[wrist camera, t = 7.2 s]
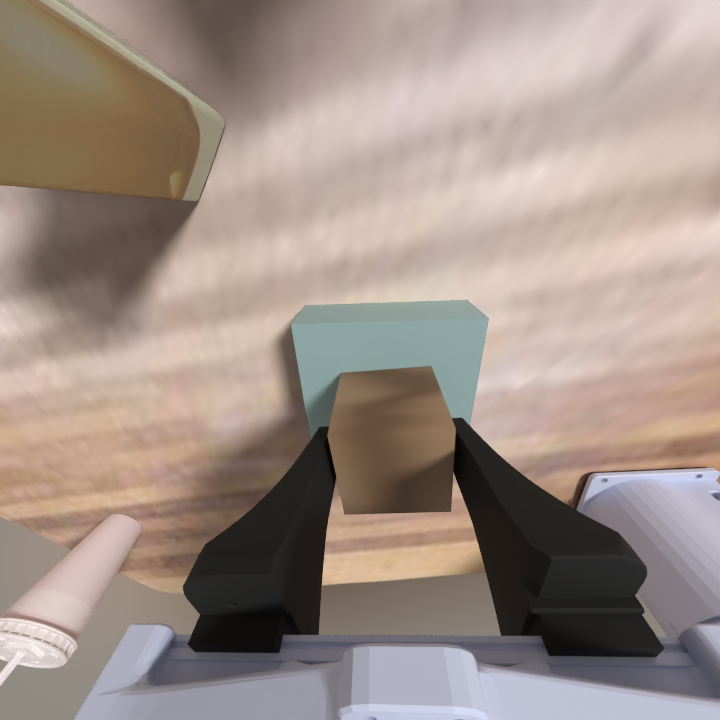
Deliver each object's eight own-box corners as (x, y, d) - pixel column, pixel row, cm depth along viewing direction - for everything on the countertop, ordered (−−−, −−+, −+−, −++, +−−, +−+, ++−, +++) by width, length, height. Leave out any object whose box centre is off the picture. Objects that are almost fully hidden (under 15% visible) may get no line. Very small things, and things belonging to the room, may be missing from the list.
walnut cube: (431, 366, 15) (455, 428, 10) (430, 435, 17) (450, 511, 13) (340, 372, 15) (327, 435, 11) (352, 439, 18) (344, 514, 13)
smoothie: (166, 527, 29) (11, 759, 17) (138, 549, 31) (-17, 768, 19) (107, 496, 27) (-118, 734, 15) (82, 522, 29) (-133, 747, 17)
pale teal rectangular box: (464, 297, 17) (488, 318, 14) (448, 422, 22) (463, 462, 18) (307, 303, 18) (290, 324, 14) (323, 423, 22) (314, 463, 19)
